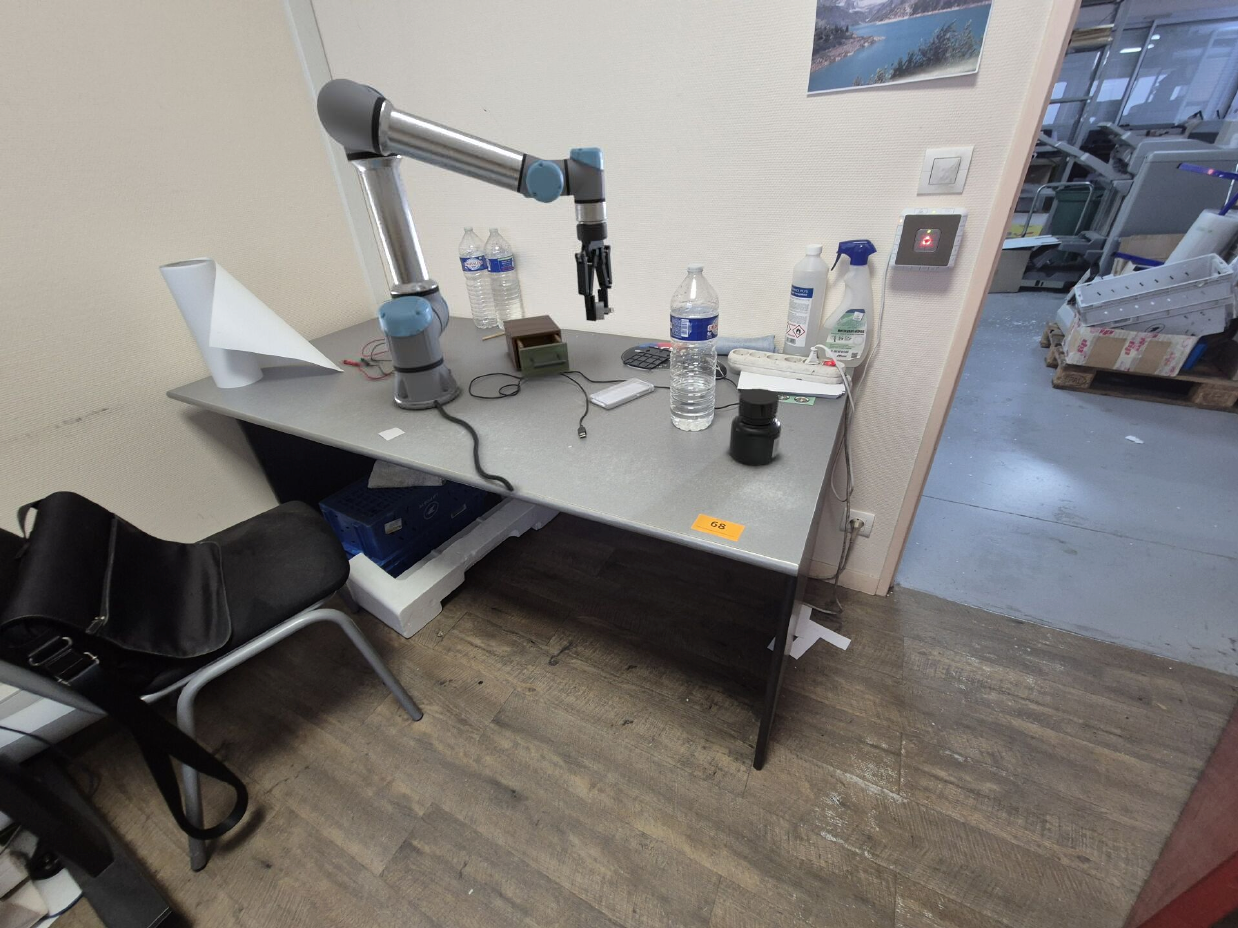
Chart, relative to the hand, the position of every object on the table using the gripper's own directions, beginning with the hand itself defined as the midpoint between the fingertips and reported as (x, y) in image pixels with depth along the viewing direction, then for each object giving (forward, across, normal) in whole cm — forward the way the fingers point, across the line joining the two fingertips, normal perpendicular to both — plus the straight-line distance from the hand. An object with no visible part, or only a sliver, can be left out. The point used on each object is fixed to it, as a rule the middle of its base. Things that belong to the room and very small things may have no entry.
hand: (597, 317), depth 135 cm
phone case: (+13, +17, +17) cm, 27 cm away
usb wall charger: (+1, -1, 0) cm, 1 cm away
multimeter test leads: (+13, +24, -59) cm, 65 cm away
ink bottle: (+13, +31, +53) cm, 63 cm away
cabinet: (+13, +4, -20) cm, 24 cm away
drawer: (+12, +13, -11) cm, 20 cm away
